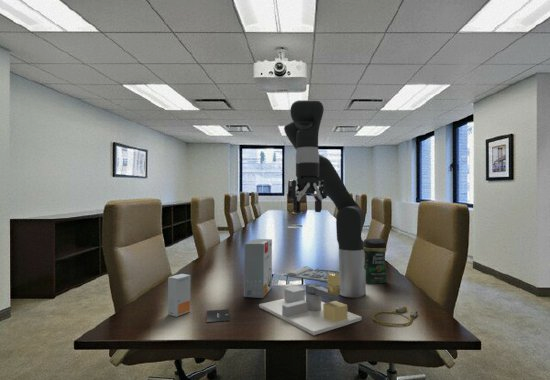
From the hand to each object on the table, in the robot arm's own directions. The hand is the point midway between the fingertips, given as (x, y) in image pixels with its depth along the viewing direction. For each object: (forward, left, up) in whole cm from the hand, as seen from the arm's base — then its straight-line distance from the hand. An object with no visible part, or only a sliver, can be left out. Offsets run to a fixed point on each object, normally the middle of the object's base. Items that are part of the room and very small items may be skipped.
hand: (307, 212), depth 109 cm
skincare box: (+34, -24, -32) cm, 53 cm away
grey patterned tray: (-36, -38, -33) cm, 62 cm away
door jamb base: (0, 0, -32) cm, 32 cm away
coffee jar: (-48, -13, -32) cm, 59 cm away
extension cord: (-19, +19, -33) cm, 42 cm away
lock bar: (-2, +5, -26) cm, 26 cm away
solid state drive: (+25, -14, -33) cm, 44 cm away
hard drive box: (+1, -29, -32) cm, 43 cm away
